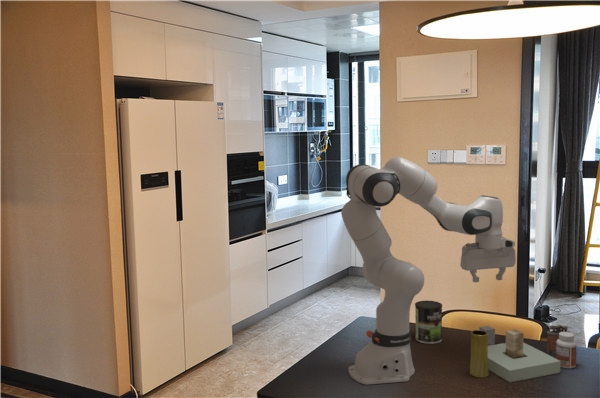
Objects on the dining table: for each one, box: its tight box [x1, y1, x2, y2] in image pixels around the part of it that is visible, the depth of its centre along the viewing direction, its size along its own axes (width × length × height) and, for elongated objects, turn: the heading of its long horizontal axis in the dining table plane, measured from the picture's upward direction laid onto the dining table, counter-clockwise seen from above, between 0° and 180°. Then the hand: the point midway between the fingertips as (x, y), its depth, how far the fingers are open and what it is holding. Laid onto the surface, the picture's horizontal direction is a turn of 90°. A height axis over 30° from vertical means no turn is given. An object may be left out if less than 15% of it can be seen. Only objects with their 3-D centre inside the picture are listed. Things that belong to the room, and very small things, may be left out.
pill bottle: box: [555, 331, 577, 369], centre depth 191 cm, size 6×6×11 cm
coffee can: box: [414, 300, 443, 345], centre depth 219 cm, size 10×10×14 cm
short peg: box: [478, 325, 496, 346], centre depth 214 cm, size 4×4×6 cm
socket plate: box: [488, 341, 561, 383], centre depth 193 cm, size 20×20×4 cm
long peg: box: [505, 329, 524, 359], centre depth 192 cm, size 4×4×12 cm
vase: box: [469, 329, 490, 379], centre depth 187 cm, size 6×6×14 cm
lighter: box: [546, 324, 572, 355], centre depth 203 cm, size 8×3×10 cm, turn 84°
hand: (487, 280), depth 197 cm, fingers open, 8 cm apart
